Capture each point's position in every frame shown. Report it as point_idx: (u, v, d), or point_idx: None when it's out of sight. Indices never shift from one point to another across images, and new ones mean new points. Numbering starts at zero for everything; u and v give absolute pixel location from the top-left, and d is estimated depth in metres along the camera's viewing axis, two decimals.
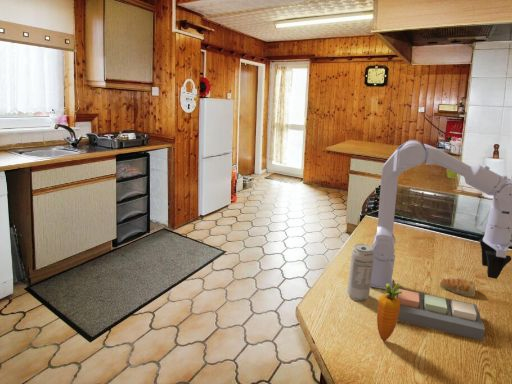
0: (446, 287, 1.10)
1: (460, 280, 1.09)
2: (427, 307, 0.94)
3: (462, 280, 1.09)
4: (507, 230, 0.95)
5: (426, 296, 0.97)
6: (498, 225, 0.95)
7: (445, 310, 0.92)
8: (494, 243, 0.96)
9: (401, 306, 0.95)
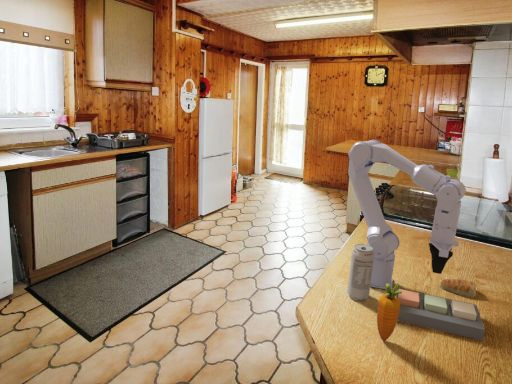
0: (447, 288, 1.09)
1: (461, 280, 1.09)
2: (427, 307, 0.94)
3: (462, 280, 1.09)
4: (451, 230, 0.95)
5: (426, 296, 0.97)
6: (438, 224, 0.96)
7: (445, 310, 0.92)
8: (439, 243, 0.96)
9: (401, 306, 0.95)
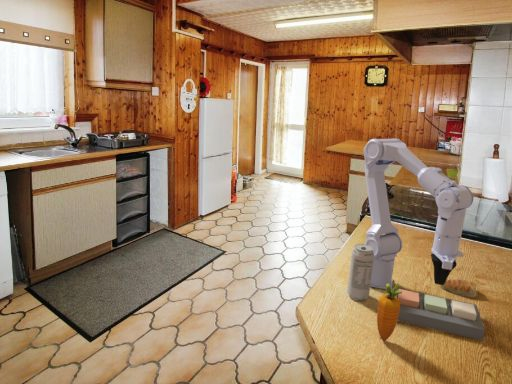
0: (447, 288, 1.09)
1: (461, 281, 1.09)
2: (427, 307, 0.94)
3: (463, 281, 1.09)
4: (454, 240, 0.88)
5: (426, 296, 0.97)
6: (438, 232, 0.90)
7: (445, 310, 0.92)
8: (442, 254, 0.90)
9: (401, 306, 0.95)
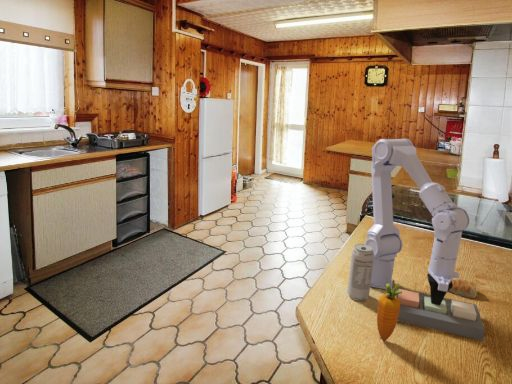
0: None
1: (461, 281, 1.09)
2: (427, 309, 0.94)
3: (463, 281, 1.09)
4: (450, 261, 0.89)
5: (426, 298, 0.97)
6: (434, 253, 0.91)
7: (445, 312, 0.92)
8: (438, 275, 0.91)
9: (401, 306, 0.95)
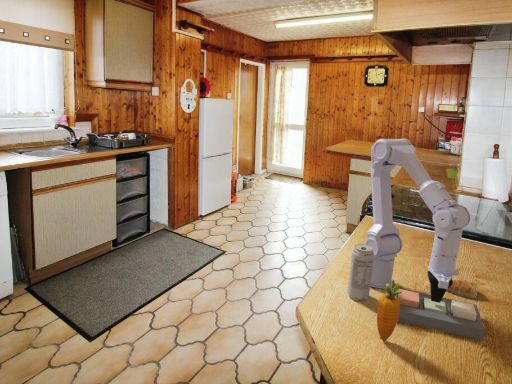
0: (448, 289, 1.09)
1: (461, 281, 1.09)
2: None
3: (463, 281, 1.09)
4: (451, 259, 0.89)
5: (425, 299, 0.97)
6: (434, 250, 0.91)
7: None
8: (438, 272, 0.91)
9: (401, 306, 0.95)
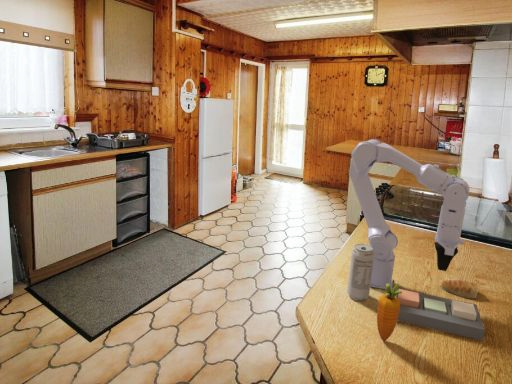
0: (448, 289, 1.09)
1: (461, 282, 1.08)
2: None
3: (463, 282, 1.08)
4: (456, 229, 0.96)
5: (425, 299, 0.97)
6: (445, 223, 0.97)
7: None
8: (444, 241, 0.98)
9: (401, 306, 0.95)
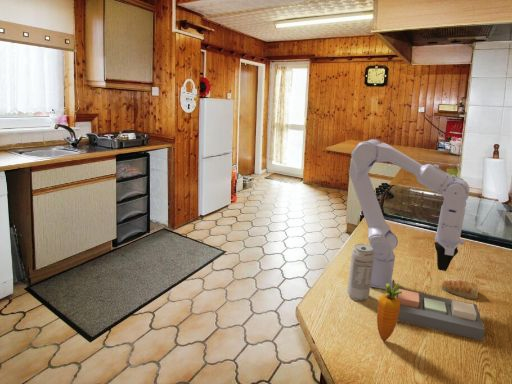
0: (448, 290, 1.08)
1: (462, 282, 1.08)
2: None
3: (464, 282, 1.08)
4: (456, 229, 0.96)
5: (425, 299, 0.97)
6: (445, 223, 0.97)
7: None
8: (444, 241, 0.98)
9: (401, 306, 0.95)
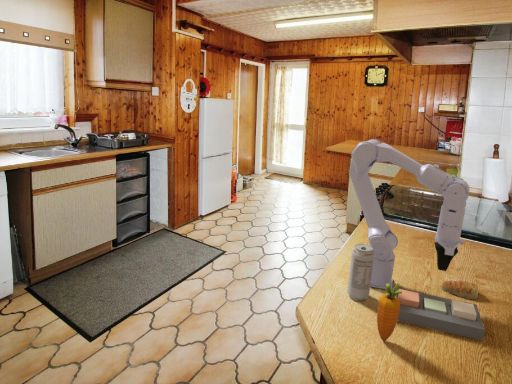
0: (449, 290, 1.08)
1: (462, 282, 1.08)
2: None
3: (464, 282, 1.08)
4: (456, 229, 0.96)
5: (425, 299, 0.97)
6: (445, 223, 0.97)
7: None
8: (444, 241, 0.98)
9: (401, 306, 0.95)
